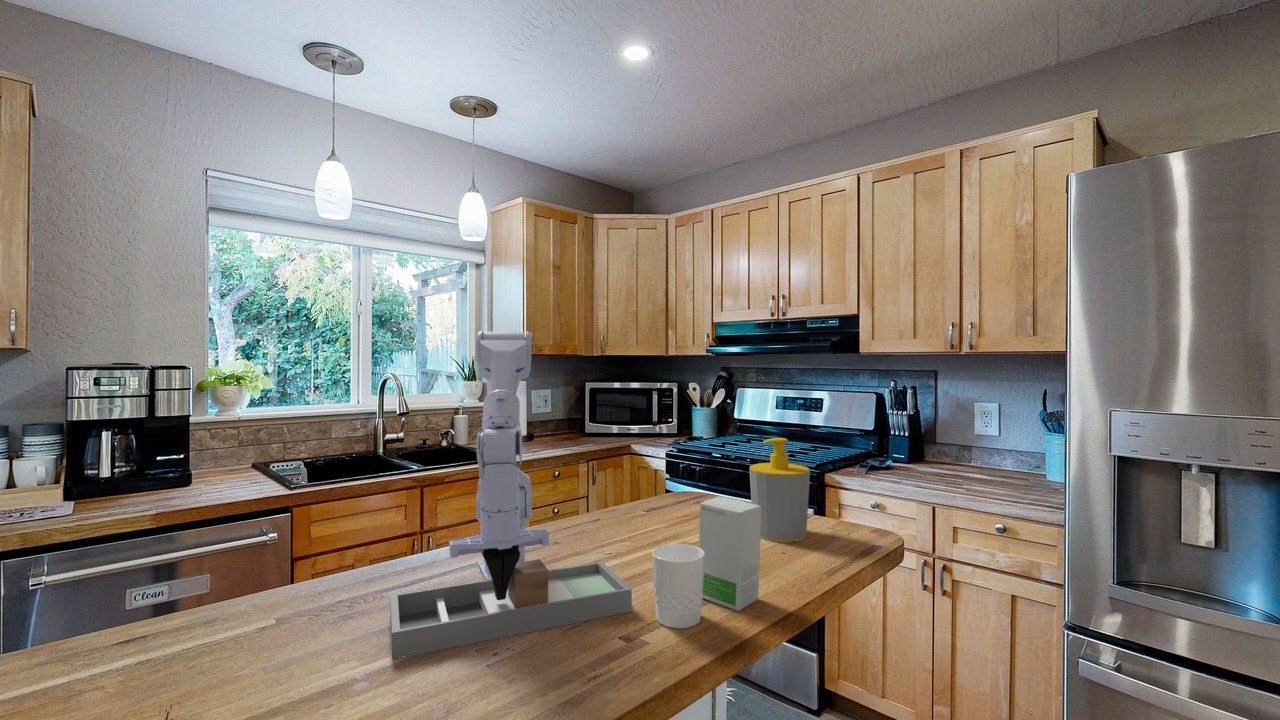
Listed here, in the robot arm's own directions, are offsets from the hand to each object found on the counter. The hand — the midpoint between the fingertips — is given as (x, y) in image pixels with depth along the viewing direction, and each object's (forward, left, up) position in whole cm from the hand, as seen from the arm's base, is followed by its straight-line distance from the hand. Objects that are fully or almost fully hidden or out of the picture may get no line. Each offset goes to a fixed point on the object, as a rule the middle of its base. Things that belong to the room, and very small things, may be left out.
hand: (500, 597), depth 87 cm
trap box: (0, +2, -3) cm, 3 cm away
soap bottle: (-16, +64, -3) cm, 66 cm away
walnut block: (0, +4, -1) cm, 4 cm away
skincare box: (+8, +35, -3) cm, 37 cm away
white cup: (+11, +24, -3) cm, 27 cm away
